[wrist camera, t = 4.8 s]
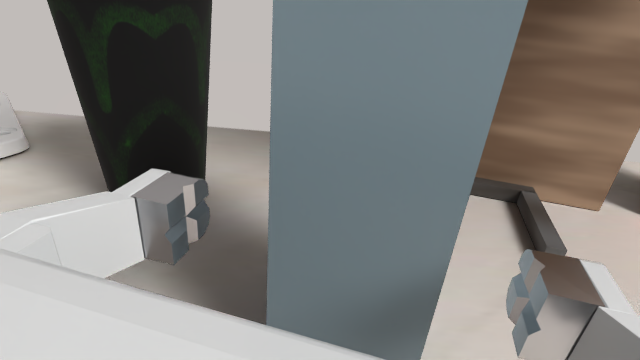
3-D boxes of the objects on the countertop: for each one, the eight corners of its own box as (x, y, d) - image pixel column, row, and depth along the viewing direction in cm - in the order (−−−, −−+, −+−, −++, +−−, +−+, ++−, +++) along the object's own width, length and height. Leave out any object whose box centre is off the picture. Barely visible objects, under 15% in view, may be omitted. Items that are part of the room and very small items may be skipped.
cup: (199, 159, 29) (186, -16, 24) (240, 204, 24) (236, -9, 18) (84, 178, 25) (36, -27, 19) (102, 239, 19) (42, -23, 14)
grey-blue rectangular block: (404, 412, 13) (536, -28, 7) (265, 370, 14) (274, -47, 8) (411, 306, 17) (495, -18, 11) (305, 280, 18) (331, -31, 12)
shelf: (674, 306, 18) (1028, -206, 10) (320, 228, 22) (361, -198, 14) (591, 201, 28) (736, -106, 20) (354, 158, 31) (390, -116, 23)
